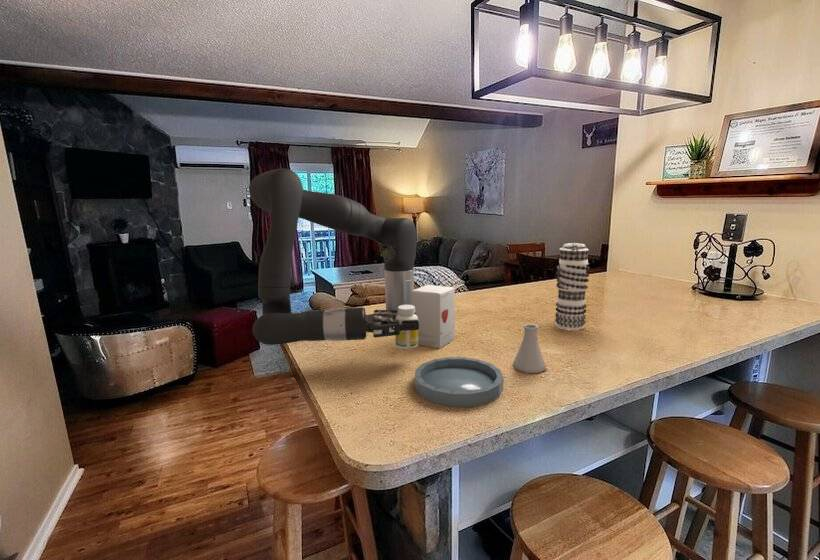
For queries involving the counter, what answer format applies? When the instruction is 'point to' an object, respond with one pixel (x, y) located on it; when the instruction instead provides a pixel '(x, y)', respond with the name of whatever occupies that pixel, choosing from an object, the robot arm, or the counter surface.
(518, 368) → the flask
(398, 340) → the supplement bottle
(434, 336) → the supplement box
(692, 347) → the counter surface
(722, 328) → the counter surface
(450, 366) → the dish
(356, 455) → the counter surface
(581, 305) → the decorative candle
